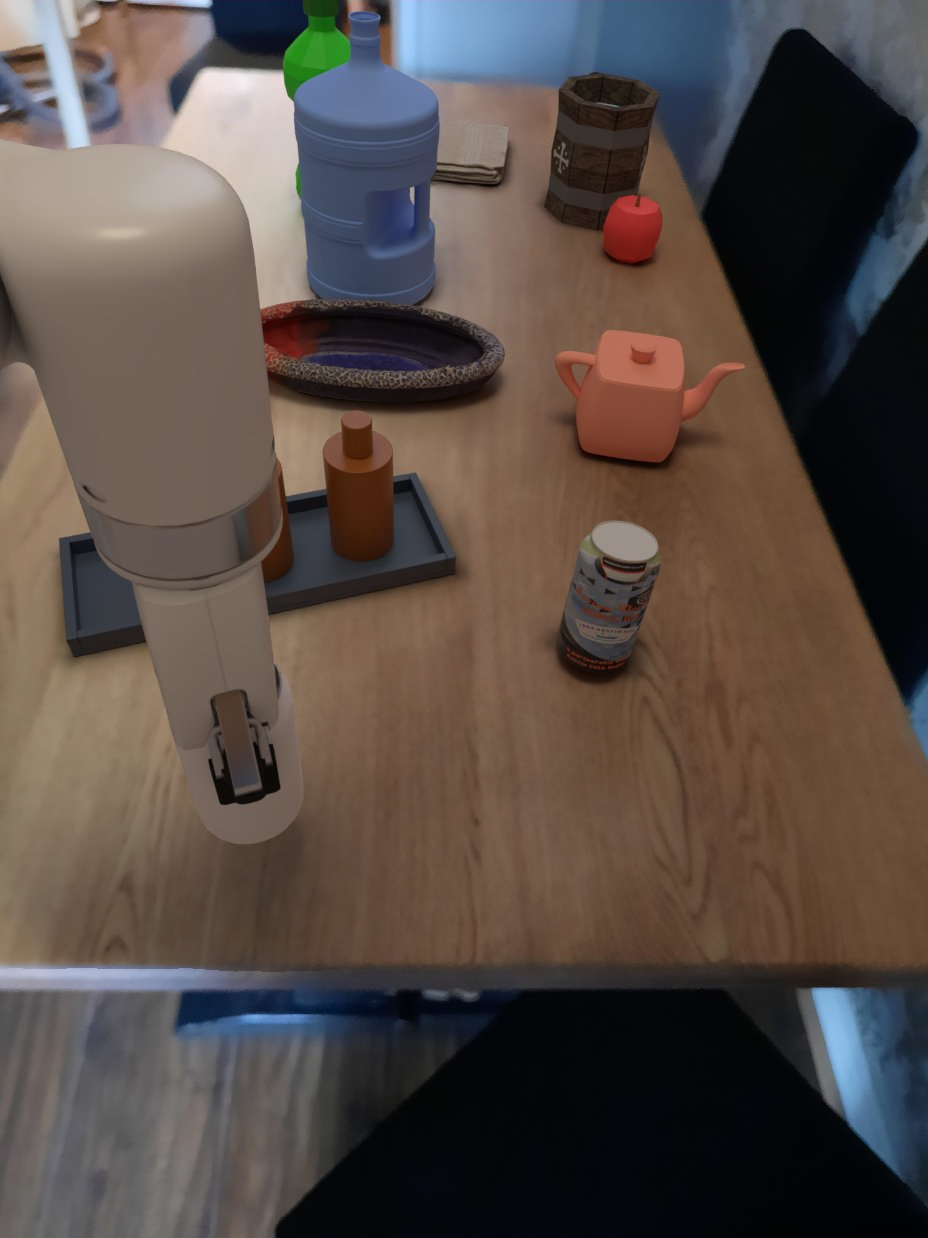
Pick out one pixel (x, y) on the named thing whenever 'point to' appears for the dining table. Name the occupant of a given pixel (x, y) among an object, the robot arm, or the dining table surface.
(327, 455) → the amber bottle
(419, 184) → the water jug
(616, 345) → the teapot
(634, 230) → the apple
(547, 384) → the dining table surface
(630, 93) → the mug
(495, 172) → the washcloth
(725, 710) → the dining table surface
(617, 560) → the beverage can
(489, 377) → the dish
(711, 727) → the dining table surface
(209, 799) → the can
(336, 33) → the plastic bottle
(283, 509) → the amber bottle
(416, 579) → the tray
